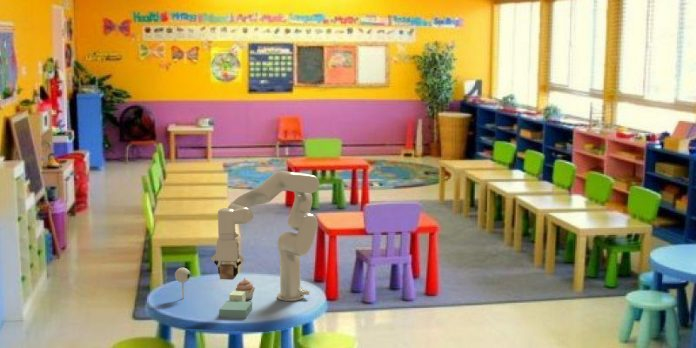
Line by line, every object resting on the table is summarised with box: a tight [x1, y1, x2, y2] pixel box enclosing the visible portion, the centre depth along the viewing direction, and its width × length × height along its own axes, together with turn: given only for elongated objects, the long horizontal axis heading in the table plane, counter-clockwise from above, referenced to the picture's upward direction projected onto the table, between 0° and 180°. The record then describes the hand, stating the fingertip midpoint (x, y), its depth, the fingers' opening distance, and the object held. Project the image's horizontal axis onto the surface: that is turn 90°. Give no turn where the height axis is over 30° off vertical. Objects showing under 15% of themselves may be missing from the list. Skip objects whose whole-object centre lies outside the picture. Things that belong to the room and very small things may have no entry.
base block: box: [218, 300, 253, 319], centre depth 397 cm, size 12×12×4 cm
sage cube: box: [229, 290, 246, 302], centre depth 408 cm, size 6×6×6 cm
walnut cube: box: [219, 262, 238, 281], centre depth 396 cm, size 6×6×6 cm
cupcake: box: [234, 277, 256, 301], centre depth 418 cm, size 9×9×10 cm
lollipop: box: [174, 267, 191, 300], centre depth 417 cm, size 7×7×15 cm
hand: (228, 274), depth 397 cm, fingers closed on walnut cube, 6 cm apart
